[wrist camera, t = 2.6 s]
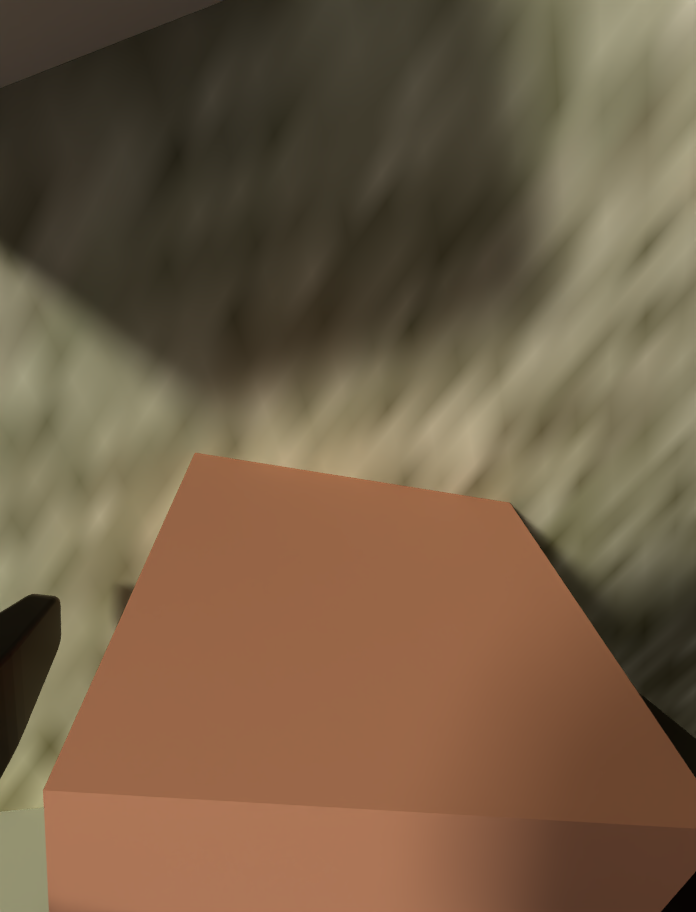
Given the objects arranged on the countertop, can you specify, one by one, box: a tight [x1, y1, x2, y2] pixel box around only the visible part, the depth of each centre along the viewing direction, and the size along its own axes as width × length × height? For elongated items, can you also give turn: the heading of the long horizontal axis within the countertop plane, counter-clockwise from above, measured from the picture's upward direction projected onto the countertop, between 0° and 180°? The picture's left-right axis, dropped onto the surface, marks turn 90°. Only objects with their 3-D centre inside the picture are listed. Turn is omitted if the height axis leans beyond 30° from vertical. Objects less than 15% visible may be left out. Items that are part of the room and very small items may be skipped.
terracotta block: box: [43, 453, 696, 912], centre depth 8 cm, size 6×6×6 cm
